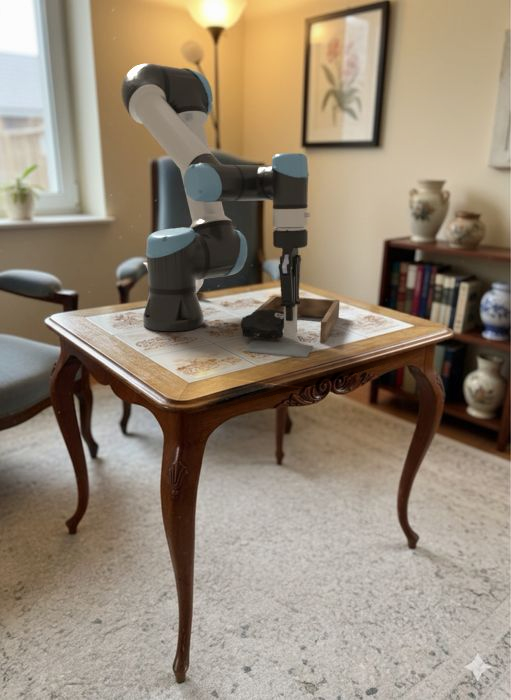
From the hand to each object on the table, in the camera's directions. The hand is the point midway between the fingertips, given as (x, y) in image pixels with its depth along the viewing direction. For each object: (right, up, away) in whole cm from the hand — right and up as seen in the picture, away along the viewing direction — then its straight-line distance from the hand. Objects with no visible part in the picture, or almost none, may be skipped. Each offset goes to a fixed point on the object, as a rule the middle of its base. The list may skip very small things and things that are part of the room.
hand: (290, 333), depth 124 cm
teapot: (-34, +13, +45) cm, 58 cm away
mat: (-3, -4, -5) cm, 7 cm away
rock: (-10, -1, +2) cm, 11 cm away
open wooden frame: (+2, +2, +13) cm, 13 cm away
